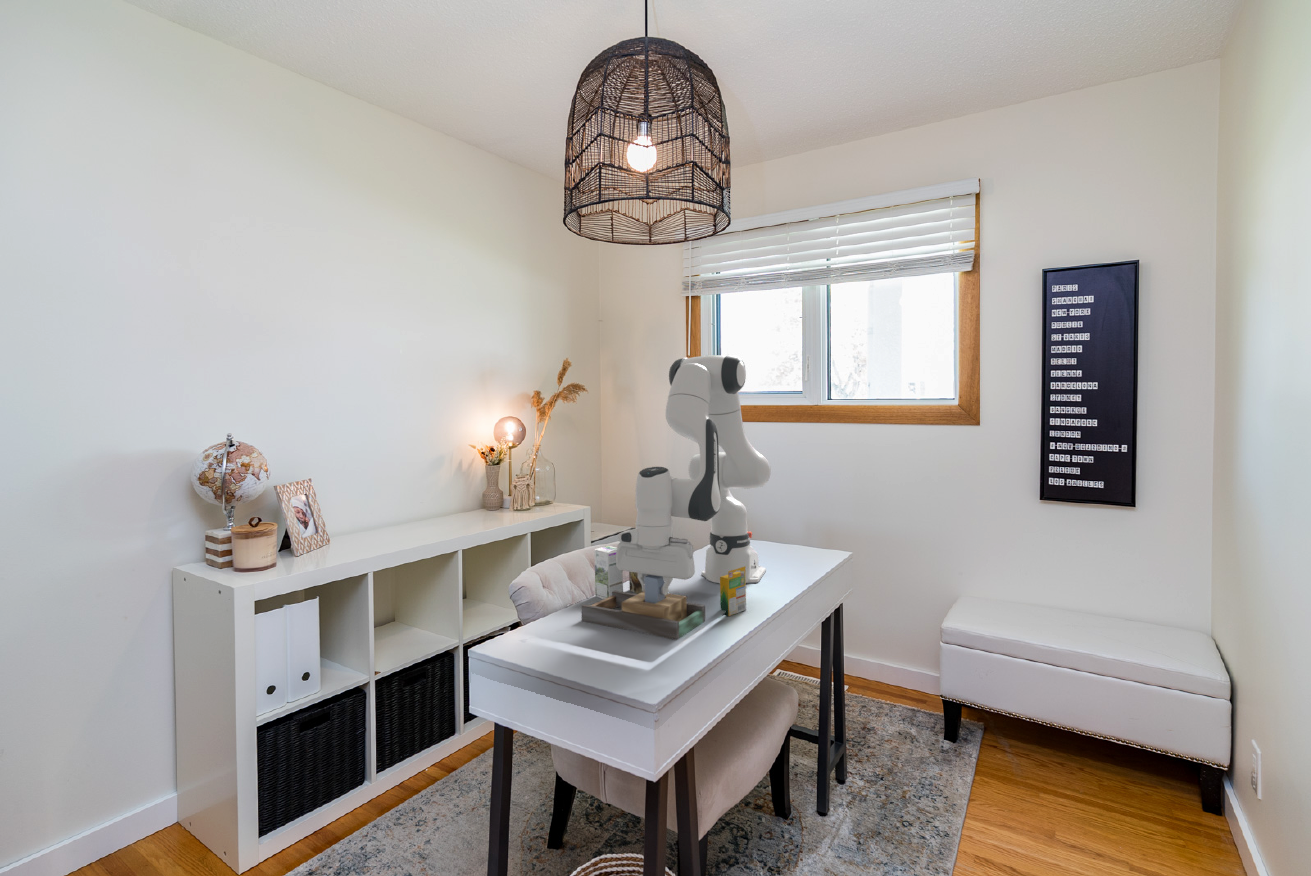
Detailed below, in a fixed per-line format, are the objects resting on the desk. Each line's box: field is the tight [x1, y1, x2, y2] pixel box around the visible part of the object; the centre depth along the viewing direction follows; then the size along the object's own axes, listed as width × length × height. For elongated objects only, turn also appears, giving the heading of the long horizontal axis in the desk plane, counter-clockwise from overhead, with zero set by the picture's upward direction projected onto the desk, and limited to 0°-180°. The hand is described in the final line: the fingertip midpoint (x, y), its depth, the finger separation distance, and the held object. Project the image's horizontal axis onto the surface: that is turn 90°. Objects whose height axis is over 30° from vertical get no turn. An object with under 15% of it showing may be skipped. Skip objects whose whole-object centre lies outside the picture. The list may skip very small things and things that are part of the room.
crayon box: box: [719, 566, 747, 617], centre depth 165 cm, size 7×3×12 cm, turn 134°
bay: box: [580, 591, 706, 641], centre depth 156 cm, size 14×26×5 cm, turn 59°
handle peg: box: [645, 575, 665, 604], centre depth 154 cm, size 4×4×10 cm
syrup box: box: [594, 545, 624, 600], centre depth 176 cm, size 6×6×14 cm
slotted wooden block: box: [621, 592, 688, 622], centre depth 154 cm, size 11×11×6 cm
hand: (655, 592), depth 154 cm, fingers closed on handle peg, 3 cm apart
